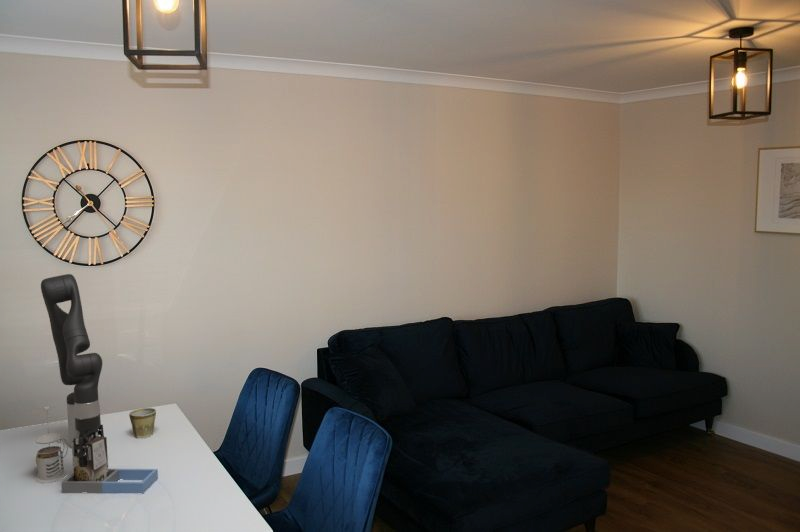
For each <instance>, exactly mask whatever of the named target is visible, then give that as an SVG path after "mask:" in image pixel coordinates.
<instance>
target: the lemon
mask: <svg viewBox="0 0 800 532" xmlns="http://www.w3.org/2000/svg"><path fill="white" fill-rule="evenodd" d="M37 455H38V452H37V453H36V456H35V464H36V465H37V464H38V463H37ZM45 456H51V455H43V456H41V457H40V459H41V458H43V457H45ZM45 459H47V458H45ZM46 466H48V467H50V466H52V465H46Z"/></svg>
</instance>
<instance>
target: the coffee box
mask: <svg viewBox="0 0 800 532" xmlns="http://www.w3.org/2000/svg"><path fill="white" fill-rule="evenodd" d="M107 438H108V437H106V436H104V437H101V436H100V435H99V436H98V437H94V438H93V440H92V441H91V442H89V443H88V442H87V443H83V446H86V445H87V446H88V449H87V454H86V456H87V466H86V467H80V466H79V457H77V456H76V457H74V446H73V441H71V444H72V448H71V456H72V468H73V473H74V481H96V482H102V481H103V480H104V479H106V478H107V477H108V476H109V472H108V469H109V456H108V442H107ZM83 452H84V449H83ZM77 453H78V449H77Z"/></svg>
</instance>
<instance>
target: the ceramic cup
mask: <svg viewBox="0 0 800 532" xmlns="http://www.w3.org/2000/svg"><path fill="white" fill-rule="evenodd" d="M156 413H157V410H156V408H153V407H143V408H136V409H133V410H131V411H130V412H129V415H128V416H129V420H130V423H131V427H132V431H133V435H134V437H135V438H136V439H137V438H144V439H148V438H150V436H151V435H152V436H153V435H154V429H155V422H156V421H155V420H156V416H157V415H156ZM152 436H151V437H152ZM147 437H148V438H147Z"/></svg>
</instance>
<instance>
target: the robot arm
mask: <svg viewBox="0 0 800 532" xmlns="http://www.w3.org/2000/svg"><path fill="white" fill-rule="evenodd" d="M40 291H41V296H42V298H43V302H44V305H45V308H46V311H47V313H48V314H47V315H48V318H49V323H50V330H51V333H52V335H51V336H52V338H53V342H54V346H55V350H56V354H57V360H58V366H59V367H58V368H59V375H60V380H61V382H62V384H63V385H65V386H73V392H71V393H69V394H67V396H66V410H67V412H66V414H67V426H68V427H67V428H68V441H69V443H68V446H69V447H70V448H71V449H72V444H71V441H73V446H74V457H76V456H77V457H79V466H80V467H86V466H87V456H86V454H87V449H88V446H87V445H86V446H83V443H87V442H88V443H89V442H91V441H92V440H93V438H94V437H98V436H101V437H105V433H104V424H102V421H101V407H100V406H101V405H100V400H99V392H98V391H99V383H100V382H99V381H100V376H101V373H102V369H103V358H102V356H101V355H100V354H99V353H97V352H89V353H84V352H86V351H87V350H88V349H89V348H90V347H91V341H90V339H89V334H88V331H87V329H86V325H85V320H84V313H83V306H82V301H81V295H80V290H79V286H78V282H77V279H76V278H75V276H74V275H73V274H71V273H66V274H61V275H55V276H51V277H47V278H44V279H42V280H41V283H40ZM65 302H70V308H69V312H66V311H64V309H62V308H61V307H60V306H59V304H60V303H65ZM83 353H84V354H83ZM77 449H78V453H77ZM83 449H84V452H83Z"/></svg>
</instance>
